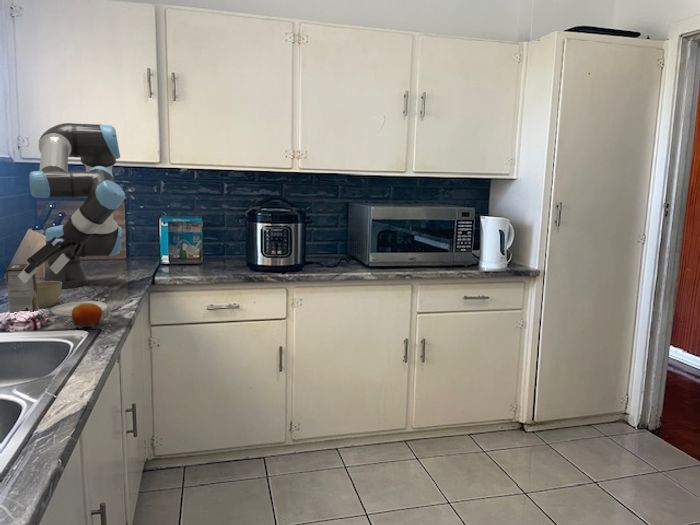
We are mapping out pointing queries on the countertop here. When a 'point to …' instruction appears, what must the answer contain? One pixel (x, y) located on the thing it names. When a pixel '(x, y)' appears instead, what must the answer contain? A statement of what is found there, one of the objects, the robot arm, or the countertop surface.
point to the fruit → (86, 315)
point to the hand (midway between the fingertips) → (38, 275)
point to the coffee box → (21, 290)
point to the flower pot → (48, 292)
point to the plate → (68, 307)
